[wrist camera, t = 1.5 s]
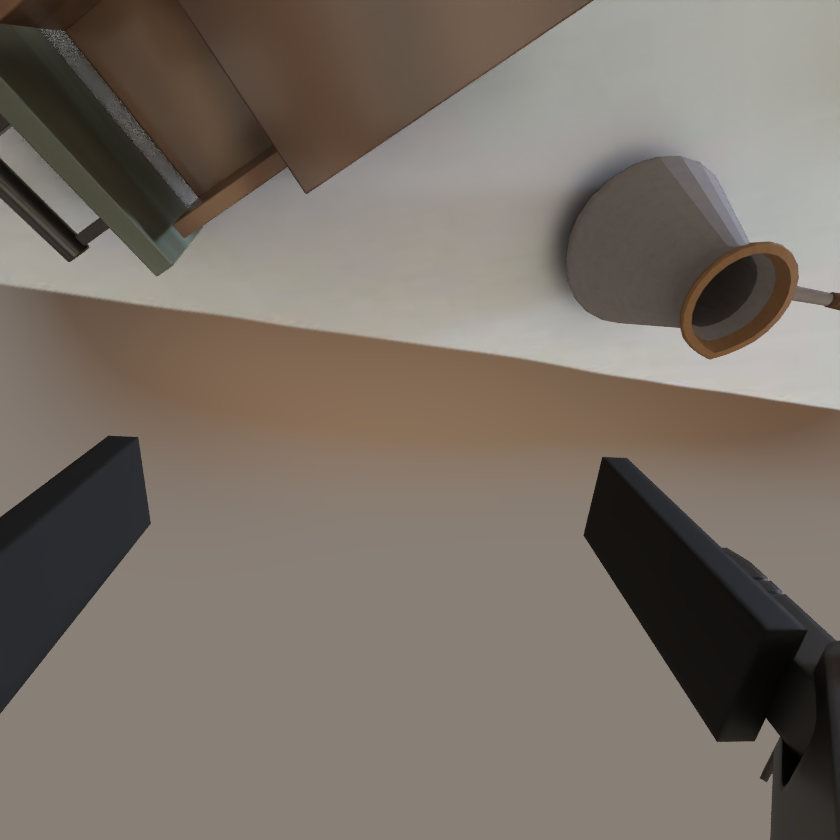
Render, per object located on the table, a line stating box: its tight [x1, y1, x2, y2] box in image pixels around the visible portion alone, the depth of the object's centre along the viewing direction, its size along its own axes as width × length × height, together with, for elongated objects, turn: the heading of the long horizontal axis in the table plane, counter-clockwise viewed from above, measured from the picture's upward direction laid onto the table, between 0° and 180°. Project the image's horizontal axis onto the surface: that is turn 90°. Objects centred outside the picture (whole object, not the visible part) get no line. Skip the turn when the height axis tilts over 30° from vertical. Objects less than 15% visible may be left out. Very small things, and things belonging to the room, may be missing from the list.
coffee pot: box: [566, 156, 840, 359], centre depth 31 cm, size 21×12×15 cm, turn 83°
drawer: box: [0, 0, 287, 276], centre depth 24 cm, size 18×12×7 cm, turn 119°
